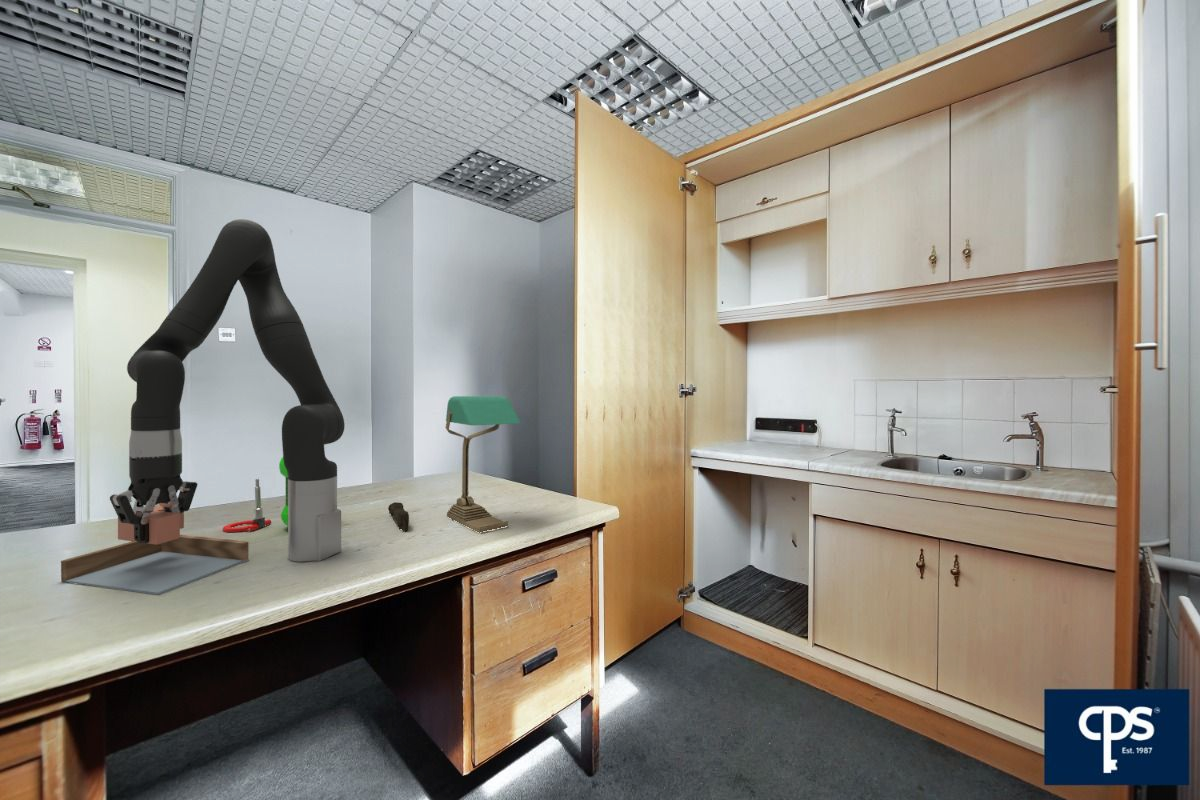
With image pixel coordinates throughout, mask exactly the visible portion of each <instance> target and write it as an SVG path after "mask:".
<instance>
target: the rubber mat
mask: <svg viewBox="0 0 1200 800" xmlns="http://www.w3.org/2000/svg"><path fill="white" fill-rule="evenodd" d="M247 560H248V561H249V558H248V559H245V560H236V559H227V558H218V557H209V556H200V555H190V554H181V553H172V552H163V551H161V552H157V553H154V554H151V555H148V556H144V557H141V558H138V559H135V560H131V561H128V562H125V563H122V564H118V565H115V566H112V567H108V568H105V569H102V570H99V571H95V572H92V573H89V574H86V575H82V576H79V577H76V578H73V579H69V580H63V582H62V583H65V582H69V583H68V584H73V583H77V584H76V585H80V584H85V585H84V586H88V585H92V586H91V587H95V586H97V587H96V588H103V589H110V590H112V589H113V590H117V591H125V592H126V591H127V592H132V593H133V592H135V593H140V594H142V593H143V594H147V595H148V594H149V595H155V596H158V595H161V594H164V593H167V592H170V591H173V590H176V589H177V588H180V587H183V586H185V585H188V584H190V583H193V582H196V581H199V580H200V579H203V578H206V577H208V576H211V575H214V574H216V573H219V572H222V571H224V570H227V569H229V568H231V567H234V566H236V565H237V566H238V565H240V564H241V563H244V561H245V562H247ZM61 581H62V580H60V582H61ZM64 581H65V582H64Z"/></svg>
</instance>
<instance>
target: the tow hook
mask: <svg viewBox="0 0 1200 800" xmlns="http://www.w3.org/2000/svg"><path fill="white" fill-rule="evenodd" d="M254 481H255V486H254V498H255V499H254V500H255V501H254V502H255V508H254V519H249V520H243V521H236V522H233V523H229V524H227V525H224V526H223V527H222V532H226V533H236V532H237V533H238V532H244V531H247V532H248V531H251V532H253V530H254V531H256V530H259V529H258V528H260V529H262V528H261V527H263V526H264V527H266V526H265V525H267V526H269V525H272V520H271V519H270V518H269V519H266V517H265V516H264V514H263V513H264V512H263V508H262V498H261V497H262V496H261V495H262V494H261V492H262V491H261V486H260V478H255V480H254ZM243 524H247V525H243ZM268 524H269V525H268ZM238 525H240V526H238ZM235 526H236V527H235ZM232 527H233V528H232ZM264 527H263V528H264ZM255 529H256V530H255Z"/></svg>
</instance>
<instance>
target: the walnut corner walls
mask: <svg viewBox="0 0 1200 800" xmlns="http://www.w3.org/2000/svg"><path fill="white" fill-rule="evenodd" d="M161 551H163V552H172V553H181V554H190V555H200V556H209V557H218V558H227V559H236V560H245V559H248V558H249V555H250V553H249V552H250V550H249V541H246V540H238V539H236V540H235V539H226V538H215V537H206V536H196V535H186V534H180V538H178V539H175V540H171V541H168V542H164V543H161V544H157V545H155V544H148V543H145V544H142V543H138V542H133V541H127V542H125V543H121V544H117V545H114V546H110V547H106V548H103V549H99V550H96V551H93V552H88V553H85V554H81V555H77V556H74V557H70V558H67V559H63V560H60V574H61V575H60V579H61V580H62V582H61V583H65V581H64V582H63V580H69V579H73V578H76V577H79V576H82V575H86V574H89V573H92V572H95V571H99V570H102V569H105V568H108V567H112V566H115V565H118V564H122V563H125V562H128V561H131V560H135V559H138V558H141V557H144V556H148V555H151V554H154V553H157V552H161ZM61 580H60V581H61Z"/></svg>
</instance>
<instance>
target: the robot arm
mask: <svg viewBox="0 0 1200 800" xmlns="http://www.w3.org/2000/svg"><path fill="white" fill-rule="evenodd" d="M272 242H273V241H272V239H271V237H270V235H269V233H268V231H267V230H266V229H265V228H264V227H263V225H260V224H259V223H258V222H255V221H253V220H250V219H246V218H245V219H243V218H242V219H234V220H231V221H230V222H227V223H226V224H225V225H224V226H223V227H222V228H221V230H220V231H219V233H218V235H217V238H216V240H215V242H214V244H213V245H212V246H213V247H212V249H211V250H210V253H209V255H208V257H207V258H206V260H205V261H204V263H203V266H202V267H201V268H200V271H198V273H197V275H196V276H195V278H194V280H193V281H192V283H190V286H189V287H188V289H187V290H186V291H185V292H184V294H183V295H182V297H181V298H180V299H179V300H178V302H177V303H176V304H175V306H174V307H173V308H172V309H171V310H170V312H169V313H167V316H166V317H165V318H164V320H162V323H161V324H160V326H159V327H158V329H157V330H156V331H155V332H154V333H153V334H152V335H150V337H149V338H147V339H146V341H144V343H143V344H141V346H140V347H139V348H138V349H136V351H135V352H134V353H133V355H131V356H130V359H129V360H128V363H127V365H126V372H127V374H128V376H129V378H130V379H131V380H132V381H134V382H136V398H135V399H136V400H135V401H134V402H133V403H132V406H131V409H130V436H129V441H128V460H129V462H128V463H129V465H128V469H129V471H128V472H129V474H128V475H129V479H130V484H129V486H128V487H127V490H126V491H123V492H121V493H119V494H115V493H114V494H111V496H110V497H109V501H110V503H111V505H112V507H113V509H114V511H115V513H116V516H117V519H118V518H119V520H120V522H121V523H129V524H133V525H134V539H135V541H137V542H138V543H142V544H145V543H148V542H149V524H147V523H148V521H149V517H150V514H151V512H153V510H154V507H155V506H158V505H160V506H161V507H162V508H163V511H164V512H172V513H180V514H181V513H182V512H184V513H185V512H188V511H189V510H190V508H191V505H192V503H193V502H192V501H193V499H194V496H195V494H196V490H197V487H198V482H196V481H184V480H183V478H182V476H181V475H182V473H183V438H182V432H181V409H180V408H181V401H182V399H183V398H182V397H183V393H184V387H185V382H186V381H185V380H186V371H185V370H186V369H185V366H184V363H183V361H185V359H186V358H187V356H188V355H189V354H190V353H191V352H192V351H194V350H196V349H198V348H199V347H200V346H201V345H202V344H203V343H204V342H205V340H206V339H207V338H208V336H209V335H210V333H211V332H212V331H213V329H214V327H216V325H217V324H218V322H219V320H220V319H221V316H223V313H224V310H225V309H226V306H227V303H228V301H229V298H230V297H231V293H232V292H233V290H234V288H235V286H236V285H237V283H238V281H239V284H240V286H241V287H242V290H243V292H244V294H245V297H246V300H247V305H248V306H247V307H248V311H249V316H250V321H251V324H252V328H253V332H254V334H255V337H256V340H257V342H258V345H259V348H260V350H261V352H262V355H263V356H264V358H265V360H267V361H268V363H269V364H270V366H272V368H273V369H274V370H275V371H276V372H277V373H278V374H279V375H280V376H281V377H282V378H283V380H285V381H286V382H287V383H288V384H289V386H290V387H291V388H292V390H293V391H294V393H295V394H296V397H297V399H298V401H299V404H300V405H296V406H293V407H292V408H291V407H290V409H288V411H287V412H286V414H285V415H284V416H283V420H282V424H281V444H282V445H281V446H282V457H283V461H284V465H285V468H286V469H287V472H288V526H287V531H288V532H287V543H288V544H287V545H288V547H287V549H288V550H287V551H288V552H287V553H288V554H287V555H288V560H290V561H293V562H311V561H322V560H325V559H327V558H329V557H331V556H334V555H335V554H338V553H339V552H342V510H341V509H340V508H339V509H338V466H337V463H336V462H334V461H332V460H329V459H328V457H326V451H325V445H330V444H334V443H335V442H338V440H340V439H341V437H342V436H343V434H344V431H345V419H344V415H343V413H342V411H341V408H340V407H339V404H338V403H337V401H336V399H335V398H334V395H333V394H332V392H331V389H330V388H329V386H328V383H327V382H326V380H325V378H324V375H323V372H322V370H321V368H320V366H319V363H318V361H317V357H316V356H315V353H314V351H313V348H312V346H311V342H310V339H309V336H308V334H307V331H306V328H305V327H304V324H303V322H302V319H301V317H300V316H299V314H298V312H297V310H296V307H295V306H294V304H293V303H292V302H291V301H290V299H289V297H288V296H287V293H286V292H285V290H284V288H283V286H282V282H281V279H280V275H279V271H278V267H277V263H276V256H275V255H276V254H275V252H274V246H273V243H272ZM178 491H179V494H178V496H177V493H178ZM132 498H133V499H134V500H135V501H134V504H133V506H132V504H131V502H133V499H132Z"/></svg>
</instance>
